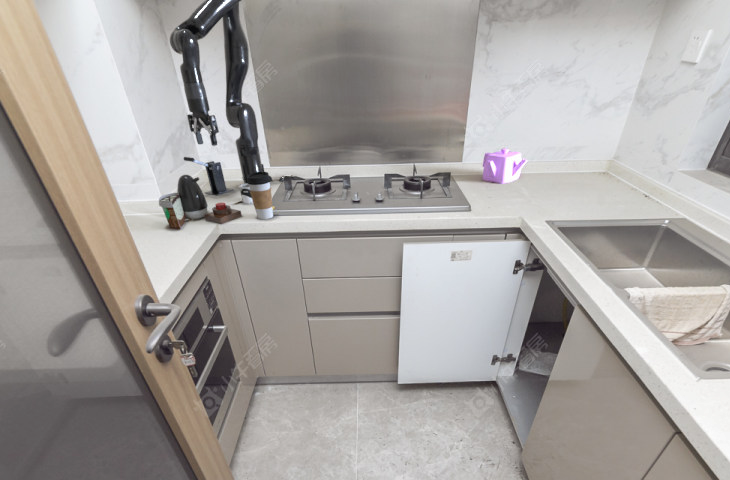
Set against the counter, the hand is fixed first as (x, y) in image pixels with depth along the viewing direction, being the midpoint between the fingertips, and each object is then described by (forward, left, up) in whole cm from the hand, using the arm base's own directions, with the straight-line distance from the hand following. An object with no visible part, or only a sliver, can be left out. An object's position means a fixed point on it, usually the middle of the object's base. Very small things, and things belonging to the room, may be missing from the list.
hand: (207, 144), depth 171 cm
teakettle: (-79, +97, -21) cm, 127 cm away
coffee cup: (+10, +37, -21) cm, 44 cm away
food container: (+33, +14, -21) cm, 41 cm away
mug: (-2, +19, -21) cm, 28 cm away
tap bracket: (-4, -5, -21) cm, 22 cm away
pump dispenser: (+23, +13, -21) cm, 34 cm away
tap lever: (+2, -5, -8) cm, 10 cm away
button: (+19, +24, -17) cm, 35 cm away
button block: (+19, +24, -21) cm, 37 cm away
